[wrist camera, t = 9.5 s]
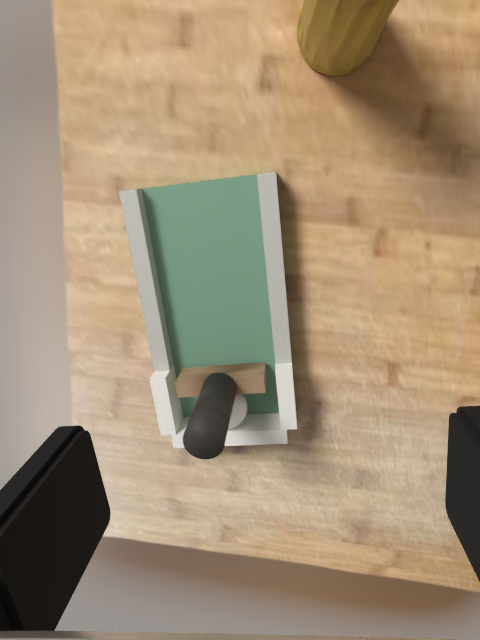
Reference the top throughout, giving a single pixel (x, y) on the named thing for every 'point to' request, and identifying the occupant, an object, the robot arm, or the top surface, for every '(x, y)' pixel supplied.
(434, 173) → the top surface
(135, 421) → the top surface
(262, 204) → the pitch
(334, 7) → the vase
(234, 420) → the ball
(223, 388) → the striker
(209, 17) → the top surface
